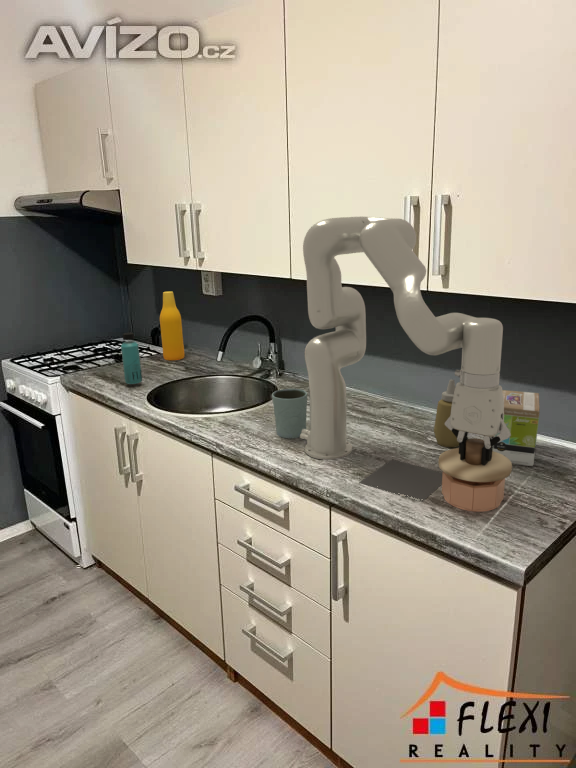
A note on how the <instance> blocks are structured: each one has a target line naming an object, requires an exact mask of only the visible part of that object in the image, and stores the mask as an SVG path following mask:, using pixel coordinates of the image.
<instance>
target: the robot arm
mask: <svg viewBox="0 0 576 768" xmlns="http://www.w3.org/2000/svg"><path fill="white" fill-rule="evenodd" d="M302 242H303V243H302V251H303V253H302V254H303V260H304V266H305V272H306V292H307V293H306V294H307V313H308V318H309V323H311V325H312V326H313V327H314V328H315V329H318V330H329V329H333V328H335V331H331V332H326V333H323V334H319V335H316V336H314V337H313V338H312V339H310V340H309V341H308V343H306V345H305V349H304V361H305V365H306V370H307V376H308V391H309V393H308V395H309V396H308V397H309V428H310V429H308V428H306V429H303V430H302V433H301V434H300V437H299V438H300V439H303V440H306V442H307V443H306V444H305V446H304V452H305V453H306V455H307V456H309V457H311V458H314V459H316V460H317V459H318V460H336V459H340V458H345V457H346V456H347V457H348V456H349V455H351V454H352V452H353V445H352V444H351V443H350V442H349V441H347V385H346V382H345V379H344V377H343V375H342V372H341V369H342V368H345V367H348V366H351V365H354V364H356V363H358V362H359V361H361V360H362V359H363V357H364V356H365V353H366V349H367V323H366V322H367V321H366V305H365V301H364V299H363V297H362V295H361V293H360V292H359V291H358V290H357V289H355V288H353V287H350V286H342V272H341V269H340V265H339V263H338V261H337V260H336V256H340V255H341V256H343V255H349V254H358V253H364V254H365V256H366V258H368V260H369V261H370V262H371V264H372V265H373V267H374V268H375V269H376V272H378V273H379V275H380V276H381V278H382V279H383V280H384V281H385V283H386V284H387V286H388V287H389V288H390V290H391V292H392V293H393V304H394V309H395V312H396V313H395V314H396V316H397V317H396V318H397V320H398V322H399V324H400V326H401V327H402V329H403V331H404V332H405V333H406V335H407V336H408V338H409V339H410V340H411V341H412V343H413V344H414V346H416V347H417V348H418V349H419V350H420V351H421V352H423V353H425V354H426V355H429V356H439V355H442V354H445V353H447V352H450V351H453V350H458V349H461V348H462V349H461V367H460V369H455V371H454V376H455V377H458V378H459V382H456V383H455V391H454V396H453V401H452V407H451V415H450V417H449V418H448V419H447V421H446V422H445V426H447V427H448V428H449V429H450V430H451V431H452V432H453V434H454V435H455V436H456V437H457V441H458V442H459V446H458V448H459V454H460V460H464V459H465V451H466V440H467V439H469V438H468V436H469V433H470V434H473V435H479V436H482V437H483V440H484V443H485V444H484V447H483V448H482V457H481V464H482V465H484V466H485V465H486V464H487V463H488V462H489V461H491V459H492V451H493V446H494V445H495V444H497V443H498V442H500V441H503V440H505V439H508V438H509V437H510V436H511V434H510V432H509V430H508V428H507V426H506V425H505V423H504V399H503V391H502V390H503V386H502V385H501V384H500V377H501V376H500V375H501V374H500V373H501V361H502V360H501V359H502V349H503V331H504V326H503V324H502V322H501V321H500V320H498V319H496V318H491V317H475V316H472V315H468V314H465V313H460V312H450V313H447V314H443V315H442V314H441V315H440V316H435V315H434V313H433V312H432V310H430V308H429V306H428V305H427V303H425V301H424V299H423V296H422V292H421V283H422V282H423V280H424V279H425V278H426V274H427V269H426V266H425V265H424V263H423V262H422V261H421V260H420V259H419V257H418V255H417V254H416V253H415V252H414V251H413V250H414V249H415V246H416V243H417V233H416V230H415V228H414V227H413V225H412V224H411V223H410V222H409V221H407V220H405V219H402V218H392V217H391V218H390V217H376V216H375V217H374V216H347V217H345V216H344V217H331V218H326V219H321V220H320V221H317V222H315V223H314V224H312V226H310V227H309V229H308V230H307V232H306V234H305V235H304V239H303V241H302ZM498 431H500V432H501V434H500V435H497V436H495V435H496V434H497V433H498Z"/></svg>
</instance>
